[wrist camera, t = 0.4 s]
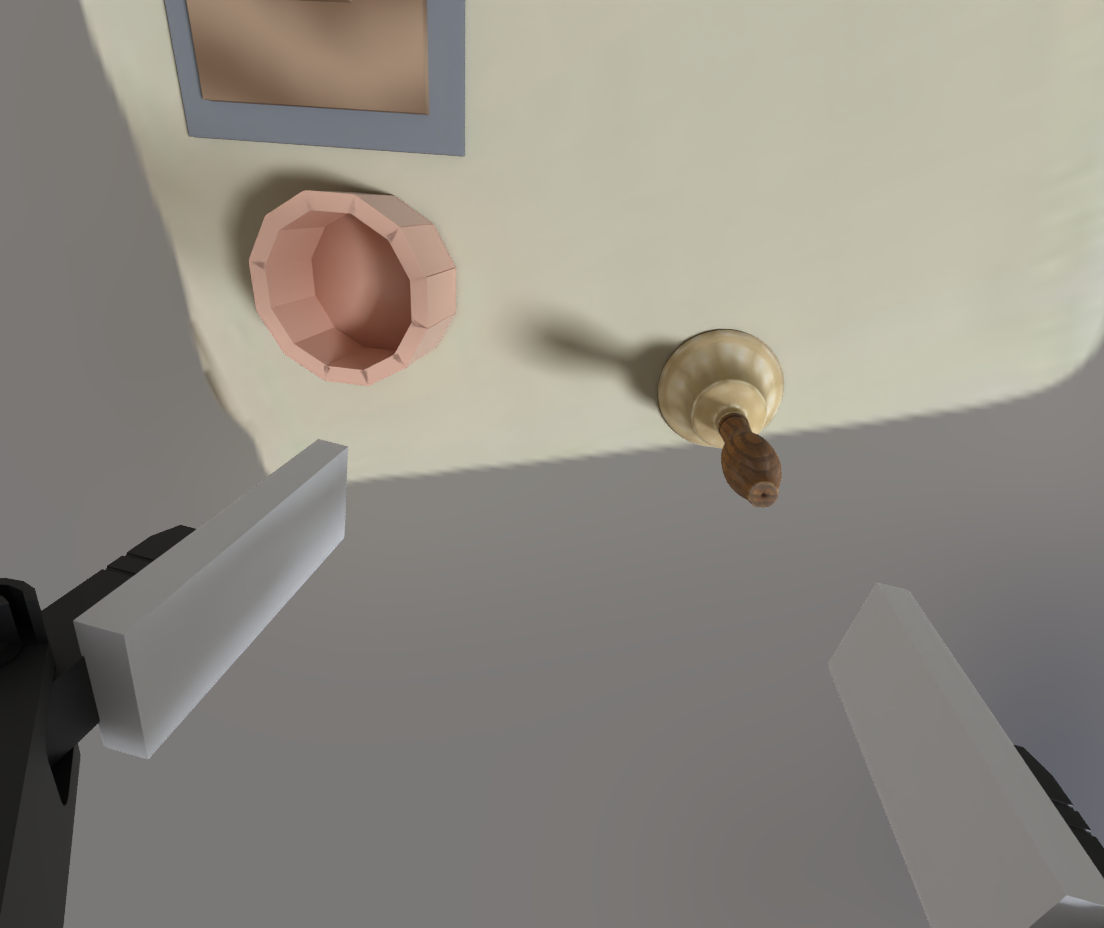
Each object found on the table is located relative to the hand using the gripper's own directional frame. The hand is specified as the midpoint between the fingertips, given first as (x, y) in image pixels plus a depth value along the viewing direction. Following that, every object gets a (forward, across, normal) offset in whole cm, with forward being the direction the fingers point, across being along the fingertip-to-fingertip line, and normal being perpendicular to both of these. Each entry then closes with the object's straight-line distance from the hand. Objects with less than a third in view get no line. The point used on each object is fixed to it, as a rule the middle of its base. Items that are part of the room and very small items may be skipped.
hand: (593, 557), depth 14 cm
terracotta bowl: (+27, -17, -1) cm, 32 cm away
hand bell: (+27, +7, -2) cm, 28 cm away
